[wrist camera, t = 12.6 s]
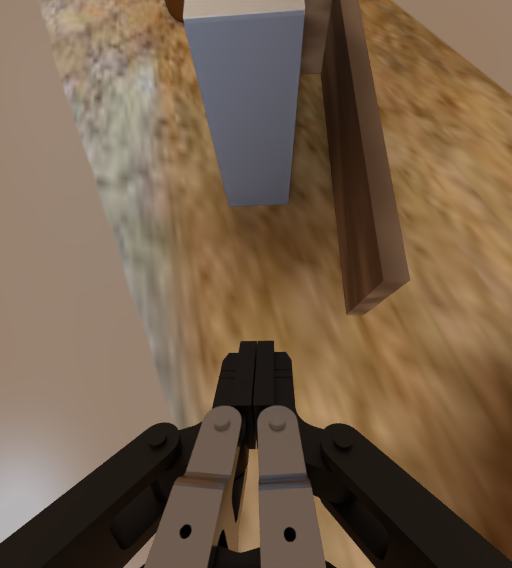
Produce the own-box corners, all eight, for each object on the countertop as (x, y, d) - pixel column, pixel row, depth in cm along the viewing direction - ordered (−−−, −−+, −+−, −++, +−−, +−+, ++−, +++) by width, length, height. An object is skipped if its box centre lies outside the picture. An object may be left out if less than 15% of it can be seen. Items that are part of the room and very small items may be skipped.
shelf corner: (331, 57, 36) (359, -94, 24) (364, 314, 25) (437, 259, 14) (234, 63, 36) (216, -82, 25) (227, 316, 26) (191, 265, 15)
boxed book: (282, 100, 34) (290, -129, 19) (288, 204, 29) (305, 12, 14) (230, 104, 34) (196, -120, 19) (228, 206, 30) (182, 21, 14)
